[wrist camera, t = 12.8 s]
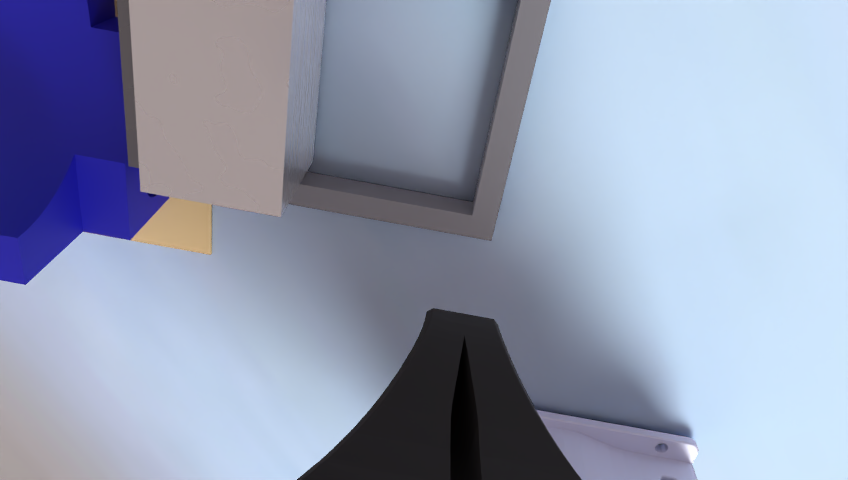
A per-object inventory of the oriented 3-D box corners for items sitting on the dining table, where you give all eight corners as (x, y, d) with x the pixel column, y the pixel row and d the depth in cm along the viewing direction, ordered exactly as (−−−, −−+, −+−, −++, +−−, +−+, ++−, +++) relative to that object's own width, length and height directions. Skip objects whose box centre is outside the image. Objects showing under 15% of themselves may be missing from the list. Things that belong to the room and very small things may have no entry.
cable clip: (169, 197, 23) (79, 294, 18) (42, 174, 23) (-83, 264, 18) (156, -207, 17) (17, -233, 12) (-14, -240, 17) (-228, -281, 12)
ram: (328, -29, 19) (294, -4, 16) (312, 161, 22) (280, 217, 19) (170, -58, 19) (101, -39, 16) (176, 136, 22) (119, 187, 19)
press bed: (587, -169, 17) (592, -171, 16) (472, 300, 25) (472, 316, 24) (-61, -291, 17) (-90, -299, 16) (23, 219, 25) (6, 232, 24)
